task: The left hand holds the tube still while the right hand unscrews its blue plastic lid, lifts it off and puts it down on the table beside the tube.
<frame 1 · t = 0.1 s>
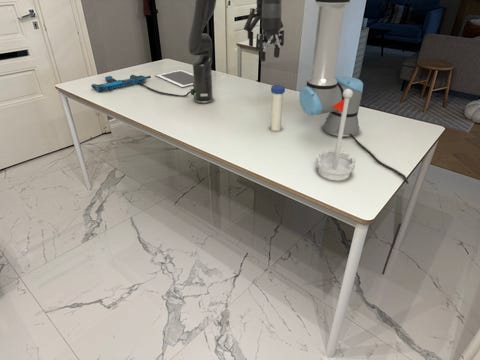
left hand: (269, 59, 139), 29 cm above the table, tool pointing down, fingers open, 8 cm apart
right hand: (263, 44, 167), 28 cm above the table, tool pointing down, fingers open, 13 cm apart
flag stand: (333, 172, 121), on the table
submachine gun: (121, 83, 207), on the table
lid: (278, 87, 142), point 19 cm above the table, screwed on, not yet turned
tablet: (182, 78, 216), on the table
tube: (275, 128, 152), on the table
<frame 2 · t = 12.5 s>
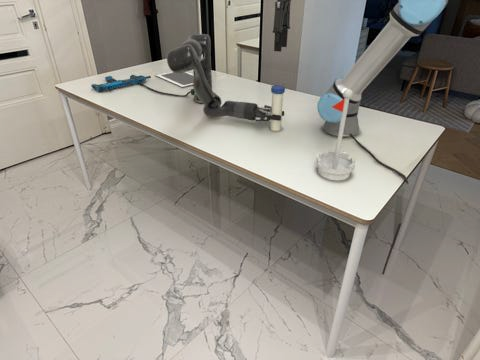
left hand: (282, 115, 147), 7 cm above the table, tool horizontal, fingers closed on tube, 4 cm apart
right hand: (280, 48, 133), 34 cm above the table, tool pointing down, fingers open, 8 cm apart
tube: (275, 128, 152), on the table, touching left hand
everything else where it was.
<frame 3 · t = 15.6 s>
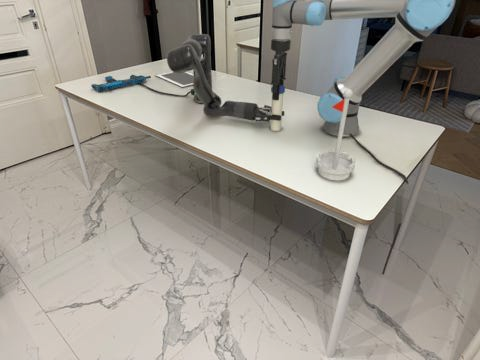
left hand: (282, 115, 147), 7 cm above the table, tool horizontal, fingers closed on tube, 4 cm apart
right hand: (277, 97, 144), 15 cm above the table, tool pointing down, fingers closed on lid, 5 cm apart
lid: (278, 87, 142), point 19 cm above the table, screwed on, not yet turned, touching right hand
tube: (275, 128, 152), on the table, touching left hand
everything else where it was.
when the right hand's fingers open (0 cm above the table, at t = 27.6 s): lid stays where it is, point 2 cm above the table.
when the left hand's fingers open (7 cm above the table, at t = 28.5 s): tube stays where it is, on the table.
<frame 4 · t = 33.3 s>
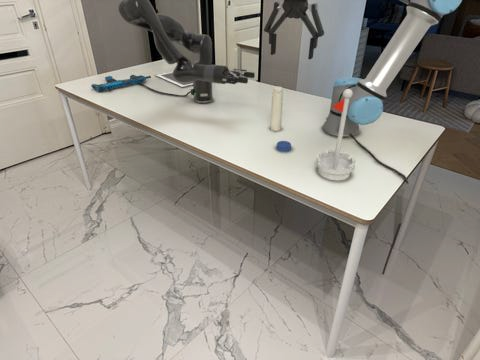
left hand: (251, 77, 143), 22 cm above the table, tool horizontal, fingers open, 8 cm apart
right hand: (291, 56, 116), 36 cm above the table, tool pointing down, fingers open, 13 cm apart
lid: (283, 144, 135), point 2 cm above the table, off its thread
tube: (275, 128, 152), on the table
everything else where it was.
at the end: lid came off its thread; lid point 1.7 cm above the table; the left hand is holding nothing; the right hand is holding nothing; tube tilted 0°; tube moved 0.0 cm from its start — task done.
